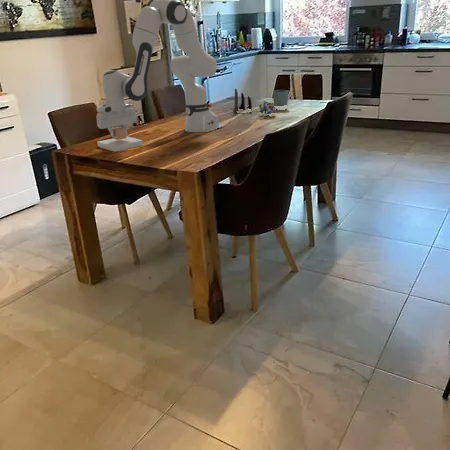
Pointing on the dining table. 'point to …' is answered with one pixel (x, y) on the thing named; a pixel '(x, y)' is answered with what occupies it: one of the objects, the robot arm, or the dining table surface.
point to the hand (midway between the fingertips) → (119, 134)
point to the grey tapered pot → (280, 97)
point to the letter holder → (242, 101)
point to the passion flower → (267, 107)
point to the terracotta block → (119, 133)
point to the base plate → (120, 144)
